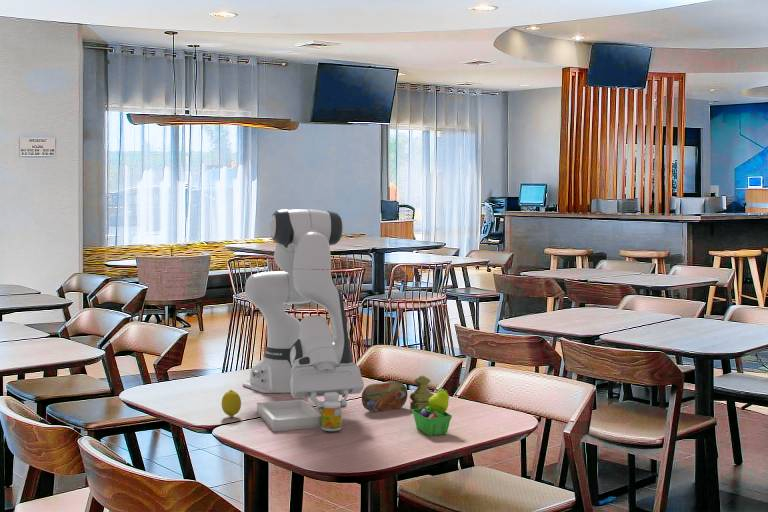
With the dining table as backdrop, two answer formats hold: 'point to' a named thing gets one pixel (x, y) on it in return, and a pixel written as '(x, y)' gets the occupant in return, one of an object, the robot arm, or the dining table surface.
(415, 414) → the fruit basket
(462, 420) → the dining table surface
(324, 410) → the supplement bottle
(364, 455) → the dining table surface
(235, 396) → the lemon
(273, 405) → the tray
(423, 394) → the olive brown figurine
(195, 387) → the dining table surface
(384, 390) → the tin
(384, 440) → the dining table surface
